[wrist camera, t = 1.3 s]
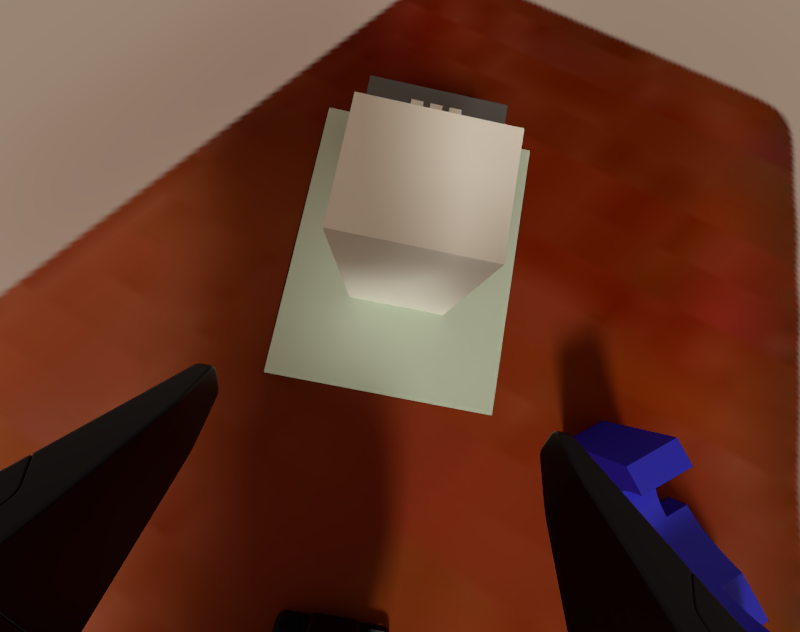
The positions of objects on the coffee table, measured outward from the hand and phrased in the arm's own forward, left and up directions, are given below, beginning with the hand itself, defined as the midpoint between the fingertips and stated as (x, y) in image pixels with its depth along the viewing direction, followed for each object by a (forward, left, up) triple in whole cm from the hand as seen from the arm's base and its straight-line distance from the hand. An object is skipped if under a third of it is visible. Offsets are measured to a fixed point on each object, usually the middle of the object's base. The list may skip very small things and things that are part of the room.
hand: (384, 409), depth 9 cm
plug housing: (+8, 0, -12) cm, 15 cm away
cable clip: (-5, -18, -14) cm, 23 cm away
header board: (+9, 0, -13) cm, 16 cm away
